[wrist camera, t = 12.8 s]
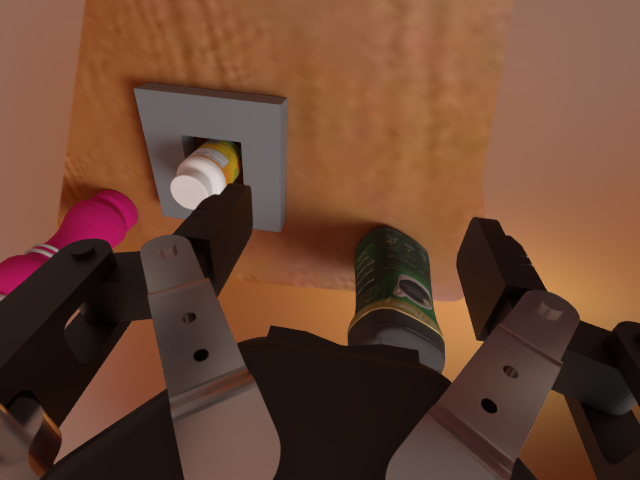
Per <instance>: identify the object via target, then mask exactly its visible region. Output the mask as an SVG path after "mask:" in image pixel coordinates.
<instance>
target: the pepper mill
mask: <svg viewBox="0 0 640 480" xmlns="http://www.w3.org/2000/svg"><path fill="white" fill-rule="evenodd" d="M137 220H138V213H137V210H136V207H135V206H134V204H133V203H132V201H131V200H129V199H128V198H127V197H126V196H124V195H123V194H121V193H119V192H117V191H112V190H104V191H101V192H100V193H98V194H97V195H95V196H94V197H93V198H91V199H89V200H82V201H80V202H78V203H77V204H75V205H74V206H73V207H72V208H71V209H70V210H69V211H68V213H67V214H66V215H65V217H64V219H63V222H62V224H61V226H60V228H59V230H58V231H57V233H56V234H55V235H54V236H53V237H52V238H51V239H50V240H48V241H47V242H46V243H44V244H36V245H34V246H33V247H32V248H31V249H29V250H27V251H26V252H25V253H24V255H16V256H13V257H9V258H8V259H6V260H4V261H3V262H2V263H0V301H1V300H2V299H3V298H5V297H6V296H7V295H8V294H9V293H10V292H12V291H13V290H14V289H15V288H16V287H17V286H18V285H20V284H21V283H22V282H23V281H24V280H25V279H27V278H28V277H29V276H30V275H31V274H32V273H33V272H35V271H36V270H37V269H38V268H39V267H40V266H42V265H43V264H44V263H45V262H46V261H47V260H48V259H50V258H51V257H52V256H53V255H54V254H55V253H57V252H58V251H59V250H60V249H61V248H63V247H64V246H66V245H68V244H70V243H73V242H75V241H79V240H83V239H91V238H96V239H103V240H105V241H107V242H109V243H110V245H111V247H112V248H114V247H116V246H117V245H118V244H119V243H120V242H122V241H123V239H124V238H125V235H126V231H128V230H129V229H130V228H131V227H132V226H134V225H135V224H136V222H137Z"/></svg>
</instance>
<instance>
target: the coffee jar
mask: <svg viewBox="0 0 640 480" xmlns="http://www.w3.org/2000/svg"><path fill="white" fill-rule="evenodd" d="M355 281H356V310H355V316H354V317H353V319H352V321H351V323H350V325H349V328H348V332H347V336H348V346H351V345H370V344H385V345H391V346H397V347H403V348H409V349H415V350H418V351H419V361H420V363H422V364H424V365H426V366H428V367H430V368H432V369H434V370H436V371H437V372H439V373H440V374H441V373H442V371H443V368H444V364H445V343H444V338H443V335H442V332H441V330H440V328H439V325H438V323H437V320H436V316H435V312H434V307H433V299H432V290H431V278H430V264H429V257H428V253H427V251H426V250H425V249H424V248H423V247H422V246H421V245H420V244H418V243H417V242H416V241H414V240H413V239H411V238H410V237H408V236H407V235H405V234H403V233H401V232H399V231H397V230H395V229H392V228H389V227H381V228H376V229H374V230H372V231H371V232H370V233H369V234H367V235H366V236H365V237H364V238H363V239H362V241H361V242H360V243H359V245H358V246H357V248H356V250H355Z"/></svg>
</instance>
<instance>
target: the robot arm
mask: <svg viewBox="0 0 640 480" xmlns="http://www.w3.org/2000/svg"><path fill="white" fill-rule="evenodd" d="M252 229H253V210H252V191H251V187H250V186H249V185H242V184H234V183H229V184H228V185H227V186H226V187H225V188H224V190H223V191H222V192H221V193H220V195H218V194H213V195H211V196H209V197H207V198H205V199H204V200H202V201H201V202H200V204H199V205H198V206H197V207H196V209H194V210H193V212H192V213H191V214H190V216H188V217H187V218H186V220H185V221H184V222H183V223H182V224H181V225H180V226H179V228H178V229H177V230H176V231H175V232H174V233H173V234H172V235H165V236H160V237H157V238H154V239H152V240H150V241H148V242H147V243H146V244H144V245H143V247H142V248H141V251H137V252H121V253H113V250H112V247H111V245H110V243H109V242H107V241H105V240H103V239H96V238H91V239H83V240H79V241H75V242H73V243H70V244H68V245H66V246H64V247H63V248H61V249H60V250H59V251H58V252H57V253H55V254H54V255H53V256H52V257H51V258H50V259H48V260H47V261H46V262H45V263H44V264H43V265H42V266H40V267H39V268H38V269H37V270H36V271H35V272H33V273H32V274H31V275H30V276H29V277H28V278H27V279H25V280H24V281H23V282H22V283H21V284H20V285H18V286H17V287H16V288H15V289H14V290H13V291H12V292H10V293H9V294H8V295H7V296H6V297H5V298H3V299H2V300H1V301H0V480H538V479H537V478H536V477H535V476H534V475H533V474H532V473H531V471H530V470H529V469H528V468H527V467H526V466H525V464H524V463H523V462H522V461H521V460H520V459H519V458H518V455H519V453H520V451H521V449H522V447H523V445H524V443H525V440H526V438H527V437H528V434H529V432H530V430H531V428H532V426H533V424H534V422H535V420H536V418H537V416H538V414H539V412H540V410H541V408H542V406H543V404H544V402H545V400H546V398H547V396H548V394H549V392H550V390H554V391H556V392H558V393H561V394H563V395H564V396H565V399H566V402H567V404H568V407H569V409H570V412H571V414H572V417H573V419H574V422H575V425H576V427H577V430H578V432H579V435H580V437H581V440H582V442H583V445H584V447H585V450H586V452H587V455H588V457H589V460H590V462H591V465H592V467H593V470H594V473H595V475H596V478H597V480H640V424H639V423H638V421H637V419H636V417H635V416H634V413H633V412H632V410H631V408H633V407H634V406H635V405H636V404H637V403H638V405H639V407H640V323H637V322H631V321H624V322H621V323H619V324H617V326H616V327H615V328H614V329H613V330H612V331H608V330H605V329H603V328H600V327H597V326H594V325H592V324H589V323H586V322H583V321H581V320H580V316H579V314H578V312H577V310H576V309H575V308H574V307H573V306H572V305H571V304H570V303H569V302H568V301H566V300H565V299H563V298H562V297H560V296H558V295H556V294H554V293H551V292H548V291H547V290H546V288H545V286H544V284H543V283H542V281H541V279H540V277H539V275H538V274H537V272H536V270H535V268H534V267H533V266H532V263H531V261H530V259H529V258H527V254H526V252H525V251H524V249H523V247H522V246H521V245H520V244H519V243H518V242H517V241H516V240H515V239H513V238H512V237H511V236H507V235H505V233H504V231H503V229H502V227H501V225H500V223H499V222H498V221H497V220H494V219H486V218H479V217H474V218H473V219H472V220H471V222H470V224H469V226H468V229H467V231H466V234H465V236H464V239H463V242H462V244H461V247H460V249H459V252H458V255H457V262H456V266H457V271H458V275H459V278H460V282H461V286H462V289H463V293H464V296H465V300H466V304H467V307H468V311H469V315H470V318H471V322H472V325H473V329H474V333H475V336H476V340H479V341H484V343H483V344H482V345H481V346H480V348H479V349H478V350H477V352H476V353H475V354H474V356H473V357H472V358H471V359H470V361H469V362H468V363H467V365H466V366H465V367H464V368H463V370H462V371H461V372H460V373H459V375H458V376H457V377H456V379H455V380H454V381H453V382H451V381H449V380H448V379H447V378H446V377H444V376H443V375H442V374H440V373H439V372H437V371H436V370H434V369H432V368H430V367H428V366H426V365H424V364H422V363H420V361H419V351H418V350H415V349H409V348H403V347H397V346H391V345H385V344H370V345H351V346H343V345H339V344H336V343H334V342H331V341H329V340H326V339H324V338H321V337H319V336H316V335H314V334H311V333H309V332H306V331H300V330H295V329H289V328H283V327H277V326H270V329H269V332H268V335H267V337H258V338H252V339H248V340H245V341H242V342H239V343H237V344H236V341H235V339H234V337H233V334H232V332H231V329H230V327H229V325H228V322H227V320H226V318H225V315H224V313H223V310H222V308H221V306H220V303H219V301H218V298H217V297H218V295H219V294H220V292H221V290H222V288H223V286H224V285H225V283H226V281H227V279H228V277H229V275H230V273H231V272H232V270H233V268H234V266H235V264H236V262H237V261H238V259H239V257H240V255H241V253H242V251H243V250H244V248H245V246H246V244H247V242H248V240H249V238H250V236H251V233H252ZM78 308H79V310H80V312H79V313H78V315H77V316H76V317H75V318H74V319H73V320H72V322H71V323H70V324H69V325H68V326H67V327H66V329H65V326H66V323H67V321H68V320H69V318H70V317H71V316H72V315H73V314H74V313H75V312H76V310H77V309H78ZM145 319H152V320H153V324H154V329H155V334H156V339H157V343H158V348H159V353H160V358H161V362H162V367H163V372H164V377H165V381H166V387H167V389H165V390H164V391H162V392H160V393H159V394H158V395H156V396H154V397H153V398H152V399H150V400H149V401H147V402H146V403H144V404H142V405H141V406H140V407H138V408H136V409H135V410H134V411H132V412H131V413H129V414H128V415H126V416H124V417H123V418H121V419H120V420H118V421H117V422H115V423H114V424H112V425H111V426H109V427H108V428H106V429H105V430H103V431H102V432H101V433H99V434H97V435H96V436H94V437H93V438H91V439H90V440H88V441H87V442H85V443H84V444H82V445H81V446H79V447H78V448H76V449H75V450H73V451H72V452H70V453H69V454H68V455H66V456H65V457H63V458H62V459H61V460H59V461H58V462H57V463H56V464H55V465H54V461H55V459H56V457H57V455H58V453H59V451H60V447H61V444H62V434H61V431H60V430H59V427H60V426H61V424H62V422H63V421H64V420H65V418H66V417H67V415H68V414H69V412H70V411H71V409H72V408H73V407H74V405H75V404H76V402H77V401H78V399H79V398H80V396H81V395H82V393H83V392H84V390H85V389H86V387H87V386H88V384H89V383H90V382H91V380H92V379H93V377H94V376H95V374H96V373H97V371H98V370H99V368H100V367H101V366H102V364H103V363H104V361H105V360H106V358H107V357H108V355H109V354H110V352H111V351H112V349H113V348H114V346H115V345H116V343H117V342H118V341H119V339H120V338H121V336H122V335H123V333H124V332H125V330H126V329H127V327H128V326H129V324H130V323H131V321H135V320H145ZM64 329H65V330H64Z"/></svg>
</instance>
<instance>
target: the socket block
mask: <svg viewBox="0 0 640 480" xmlns="http://www.w3.org/2000/svg"><path fill="white" fill-rule="evenodd" d="M133 89H134V93H135V98H136V102H137V106H138V110H139V115H140V119H141V123H142V128H143V132H144V136H145V140H146V145H147V149H148V153H149V157H150V162H151V166H152V170H153V175H154V179H155V183H156V187H157V192H158V196H159V200H160V205H161V209H162V213H163V216H167V217H174V218H181V219H186V218H187V217H188V216H190V214H191V213H192V212H193V210H192V209H188V208H185V207H183V206H181V205H180V204H179V203H178V202H177V201H176V200H175V199H174V197H173V196H172V193H171V190H170V185H171V182H172V180H173V179H174V178H175V177H176V176H177V170H178V167H179V165H180V164H181V163H182V162H183V161H184V160H185V159H186V158H187V157H188V156H190V155H191V154H192V153H193V152H195V151H196V146H195V139H194V137H202V138H210V139H218V140H226V141H234V142H241V150H242V165H243V180H244V185H249V186H250V187H251V191H252V210H253V229H259V230H266V231H273V232H281V230H282V228H283V225H284V223H285V221H286V143H287V98H284V97H275V96H266V95H257V94H248V93H239V92H230V91H221V90H212V89H203V88H194V87H185V86H175V85H166V84H157V83H146V84H143V85H141V86H138V87H135V88H133Z"/></svg>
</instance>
